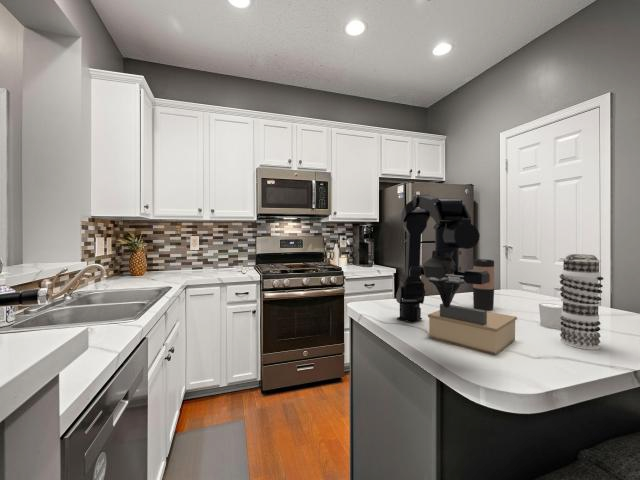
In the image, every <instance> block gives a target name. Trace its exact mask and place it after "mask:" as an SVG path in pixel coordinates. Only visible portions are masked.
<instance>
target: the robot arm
mask: <svg viewBox="0 0 640 480" xmlns="http://www.w3.org/2000/svg"><path fill="white" fill-rule="evenodd" d="M400 217H401V218H400V220H401V222H402V224H401V225H402V227H403V230H405V233H406V247H405V248H406V250H405V268H404V269H405V271H404V272H405V273H404V275H403V276H402V278H401V279H400V280H399V286H398V288H397V291H396V294H395V299H396V303H398V304H399V316H398V317H397V318H396V320H400V321H404V322H408V323H416V322H419V321H422V320H423V317H422V309H421V306H420V305H421V304H422V305H423V304H424V302H425V295H426V290H425V284H424V282H423V281H422V279H421V277H422V275H423V276H424V277H425V278H427V279H428V282H429V283H431V284H433V285H434V286H435V288H436V289H437V292H438V294H439V297H440V299H441V302H442V303H443V305H444V307H446V308H448V307H449V306H450V304H451V305H452V301H453V299H454V297H455V295H456V293H457V291H458V290H459V287H461V285H462V284H470V285H473V284H478V285H482V284H485V283H488V282H490V275H489V273H488V272H487V271H485V270H473V268H472V269H468V270H464V271H462V266H460V255H462V250H460V249H465V250H468V249H471V248H474V247H476V246H477V244H478V243H479V241H480V237H481V236H480V232H479V229H478V228H477V227H476V226H475V225H473V224H472V219H471V218H472V217H471V215H470V214H469V212H468V209H467V208H466V204H465V203H464V202H463V200H462V198H461V197H435V196H432V195H430V194H416V195H413V197H412V199H411V200H410V201H409V202H408V203H406V204H404V206H403V208H402V212H401V213H400ZM430 218H432V219H433V221H434V223H435V224H434V225H433V228H432V229H434V232H435V233H434V236H435V237H434V250H432V253H431V258H429V259H428V260H426V261H424V263H423V264H420V263H421V248H422V247H421V246H422V245H421V244H422V243H421V242H422V234H423V233H424V231H425V230H426V229H427V226H428V221H429V219H430Z"/></svg>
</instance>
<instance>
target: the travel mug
mask: <svg viewBox="0 0 640 480" xmlns="http://www.w3.org/2000/svg"><path fill="white" fill-rule="evenodd" d="M472 266H473V267H472V269H473V270H485V271H487V272H488V273H489V275H490V282H488V283H485V284H482V285H478V284H472V295H473V297H472V298H473V299H472V300H473V309H479V310H485V311H487V312H493V311H494V300H495V261H494V260H493V259H482V258H479V259H478V258H477V259H475V258H474V259H473V265H472Z"/></svg>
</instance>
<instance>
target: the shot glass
mask: <svg viewBox="0 0 640 480" xmlns="http://www.w3.org/2000/svg"><path fill="white" fill-rule="evenodd" d="M538 308H539V319H540V326H542V327H544V328H548V329H555V330H557V329H559V330H560V328H561V327H563V326H562V325H561V322H562V321H563V320H561V318H560V317H561V316H562V310H563V305H561V304H555V303H551V302H550V303H547V302H542V303H538Z"/></svg>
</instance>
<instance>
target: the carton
mask: <svg viewBox="0 0 640 480" xmlns="http://www.w3.org/2000/svg"><path fill="white" fill-rule="evenodd" d="M428 318H429V319H428V320H429V321H428V327H429V328H428V334H429V335H428V338H431V339H435V340H438V341H441V342H442V341H443V342H444V343H449V344H452V345H456V346H459V347H460V346H461V347H465V348H467V349H471V350H474V351H478V352H482V353H486V354H489V355H493V356H497V355H498V354H499V353H500V352H502V351H503V350H504V349H506V348H507V347H508V346H509V345H511V344H512V343H513V342H515V341H516V320H515V321H514V322H512V323H510V324H509V325H507V326H506V327H504V328H502V329H501V330H499V331H498V332H493V331H489V330H484V329H480V328H475V327H471V326H466V325H462V324H457V323H452V322H448V321H443V320H439V319H434V318H430V317H428Z"/></svg>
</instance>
